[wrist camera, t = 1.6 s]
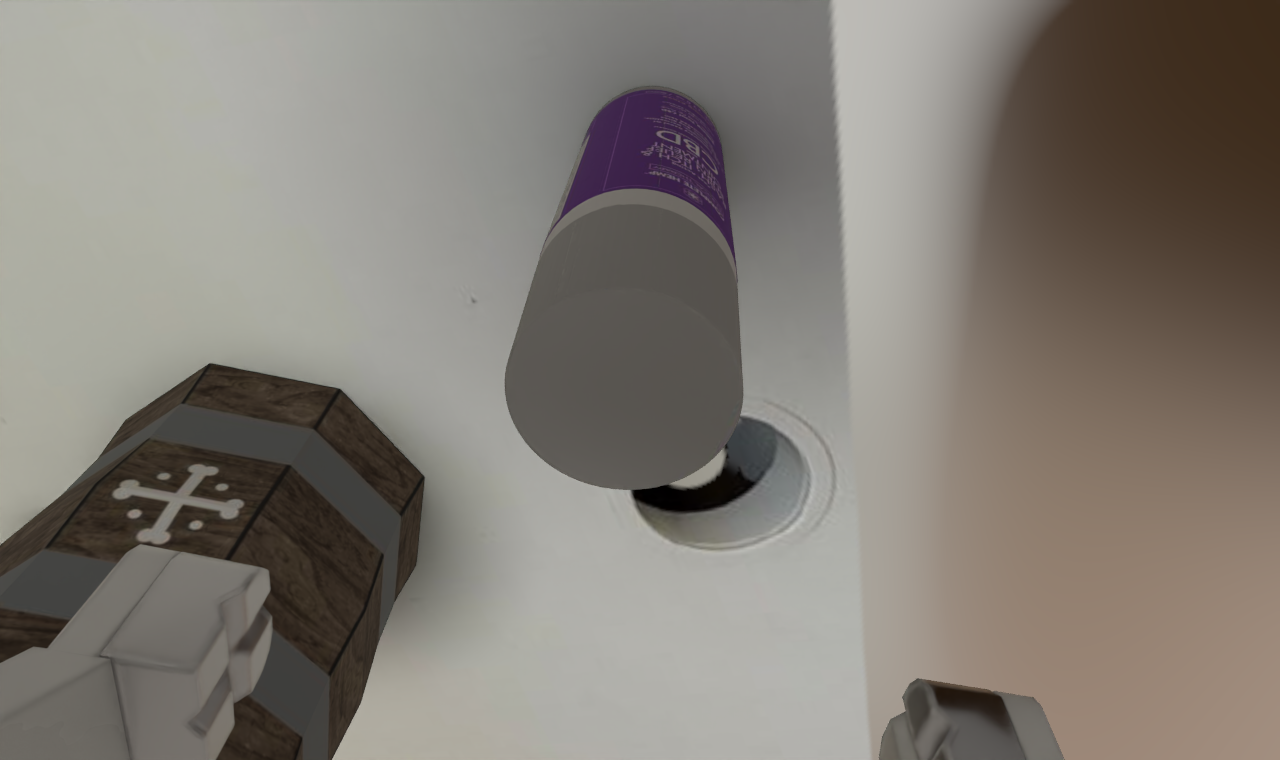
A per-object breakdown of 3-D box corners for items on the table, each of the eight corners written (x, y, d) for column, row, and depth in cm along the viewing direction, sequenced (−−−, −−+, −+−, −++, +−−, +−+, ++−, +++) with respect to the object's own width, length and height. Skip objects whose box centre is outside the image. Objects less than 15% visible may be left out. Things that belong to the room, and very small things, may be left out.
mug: (369, 339, 33) (163, 646, 20) (469, 591, 40) (365, 941, 27) (-73, 405, 35) (-503, 713, 23) (93, 631, 42) (-166, 964, 29)
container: (732, 93, 27) (771, 296, 15) (711, 230, 30) (729, 508, 17) (587, 77, 27) (498, 266, 14) (578, 215, 30) (496, 482, 17)
